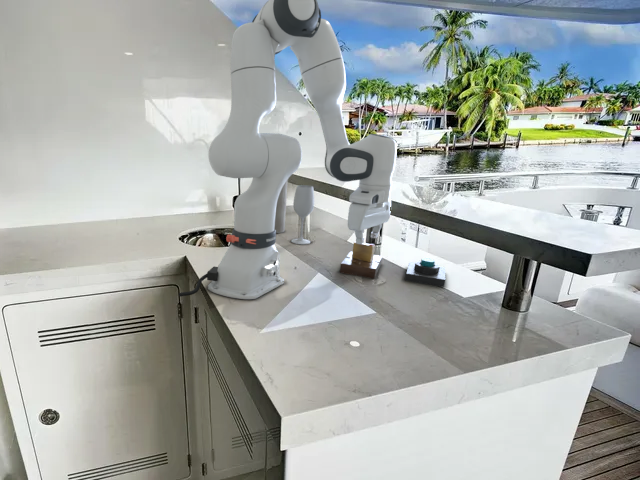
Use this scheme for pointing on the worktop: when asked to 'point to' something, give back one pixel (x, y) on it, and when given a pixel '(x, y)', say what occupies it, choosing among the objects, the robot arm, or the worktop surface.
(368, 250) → the lock knob
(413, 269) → the bell box
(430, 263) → the bell button
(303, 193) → the wineglass
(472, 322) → the worktop surface
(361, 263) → the plate
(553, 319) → the worktop surface
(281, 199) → the thermos bottle
